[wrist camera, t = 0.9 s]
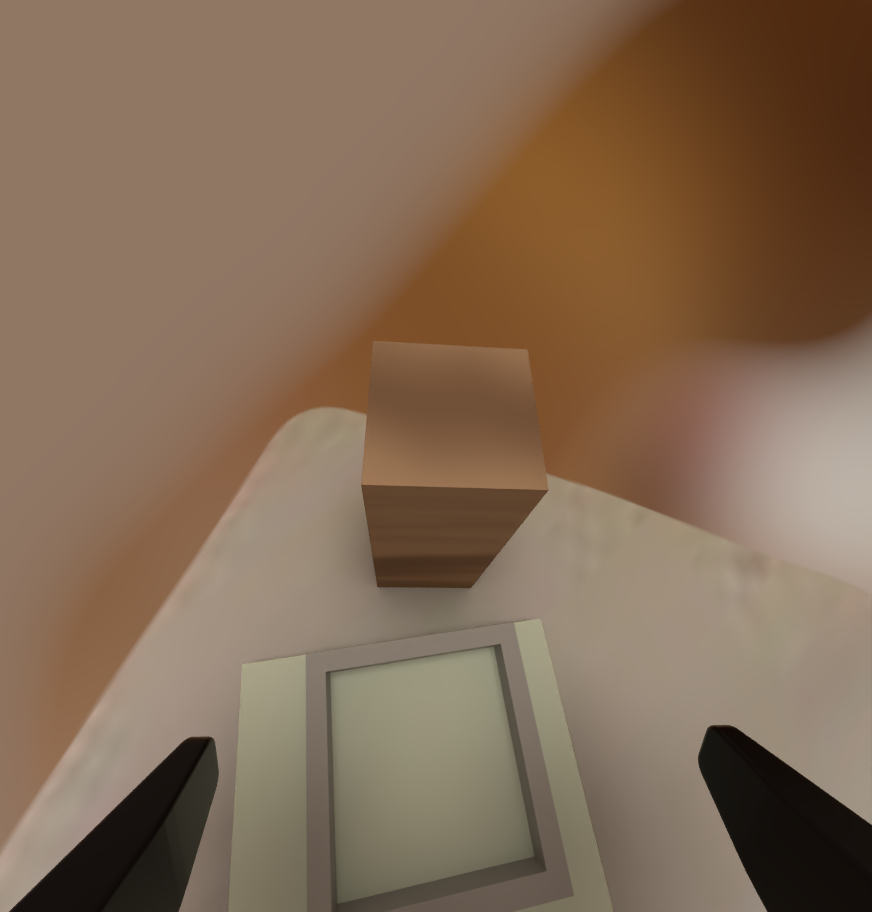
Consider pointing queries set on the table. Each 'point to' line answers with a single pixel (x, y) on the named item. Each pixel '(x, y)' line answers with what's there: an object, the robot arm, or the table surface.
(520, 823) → the footing plate
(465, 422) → the walnut pillar
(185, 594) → the table surface
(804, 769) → the table surface
